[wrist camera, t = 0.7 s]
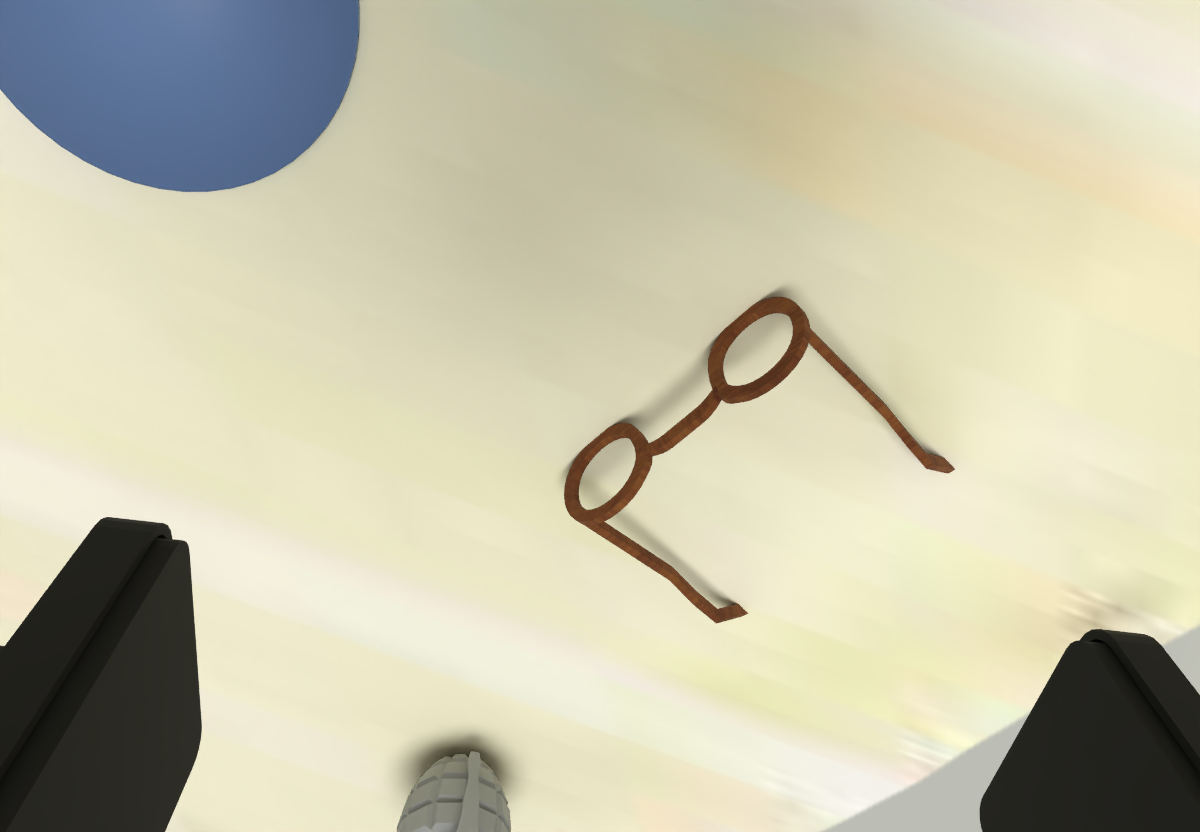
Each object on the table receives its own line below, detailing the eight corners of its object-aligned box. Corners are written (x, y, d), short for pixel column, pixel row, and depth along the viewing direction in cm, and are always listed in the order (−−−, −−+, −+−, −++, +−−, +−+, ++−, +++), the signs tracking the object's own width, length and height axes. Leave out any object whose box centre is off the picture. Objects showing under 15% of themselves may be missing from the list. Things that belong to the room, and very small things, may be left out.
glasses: (779, 275, 38) (806, 324, 34) (952, 462, 43) (994, 525, 39) (558, 464, 43) (556, 528, 38) (737, 614, 47) (754, 687, 43)
